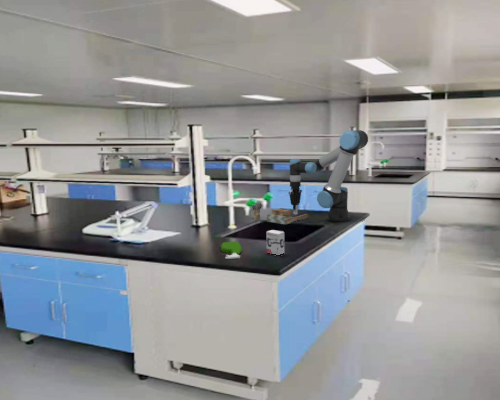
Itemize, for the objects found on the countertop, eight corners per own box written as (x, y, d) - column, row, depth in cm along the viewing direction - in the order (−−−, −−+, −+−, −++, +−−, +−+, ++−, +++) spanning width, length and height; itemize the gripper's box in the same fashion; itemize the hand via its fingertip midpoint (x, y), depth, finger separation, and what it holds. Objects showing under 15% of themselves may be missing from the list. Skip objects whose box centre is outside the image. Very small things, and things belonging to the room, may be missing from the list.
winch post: (261, 220, 316) (261, 200, 314) (257, 221, 313) (257, 201, 311) (255, 219, 321) (254, 199, 318) (250, 220, 317) (250, 200, 315)
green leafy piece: (240, 246, 249) (244, 260, 225) (220, 247, 248) (222, 261, 224) (240, 241, 248) (244, 254, 224) (220, 242, 247) (222, 255, 223)
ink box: (265, 253, 233) (265, 231, 232) (272, 251, 237) (271, 229, 235) (278, 256, 228) (278, 233, 226) (285, 254, 231) (284, 231, 229)
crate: (291, 221, 312) (291, 209, 311) (282, 223, 305) (282, 211, 304) (280, 219, 318) (280, 208, 317) (272, 221, 311) (271, 210, 310)
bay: (307, 218, 321) (307, 211, 320) (285, 224, 302) (285, 217, 301) (289, 215, 331) (289, 208, 330) (266, 221, 312) (266, 214, 311)
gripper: (296, 179, 326) (296, 212, 329) (285, 181, 316) (285, 214, 320) (304, 180, 321) (305, 213, 324) (294, 182, 311) (294, 216, 315)
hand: (295, 214), depth 322 cm, fingers closed
